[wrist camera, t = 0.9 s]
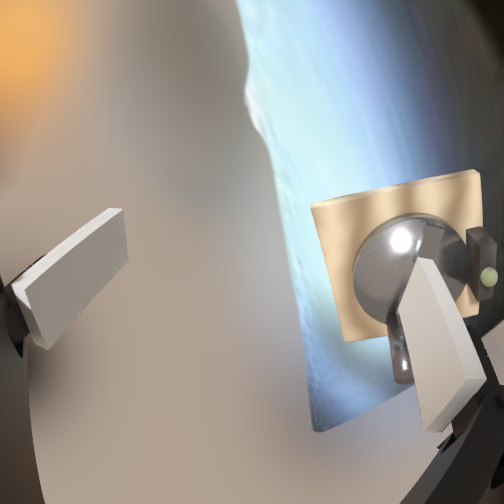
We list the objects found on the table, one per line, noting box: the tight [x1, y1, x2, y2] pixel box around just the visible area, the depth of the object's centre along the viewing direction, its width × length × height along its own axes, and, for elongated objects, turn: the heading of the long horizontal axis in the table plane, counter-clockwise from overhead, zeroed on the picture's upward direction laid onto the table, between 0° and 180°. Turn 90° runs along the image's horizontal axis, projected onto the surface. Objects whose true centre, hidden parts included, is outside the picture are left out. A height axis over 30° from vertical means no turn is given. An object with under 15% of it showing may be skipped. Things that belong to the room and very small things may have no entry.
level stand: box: [311, 169, 498, 342], centre depth 36 cm, size 22×22×9 cm
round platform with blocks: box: [352, 213, 470, 384], centre depth 33 cm, size 16×16×12 cm
